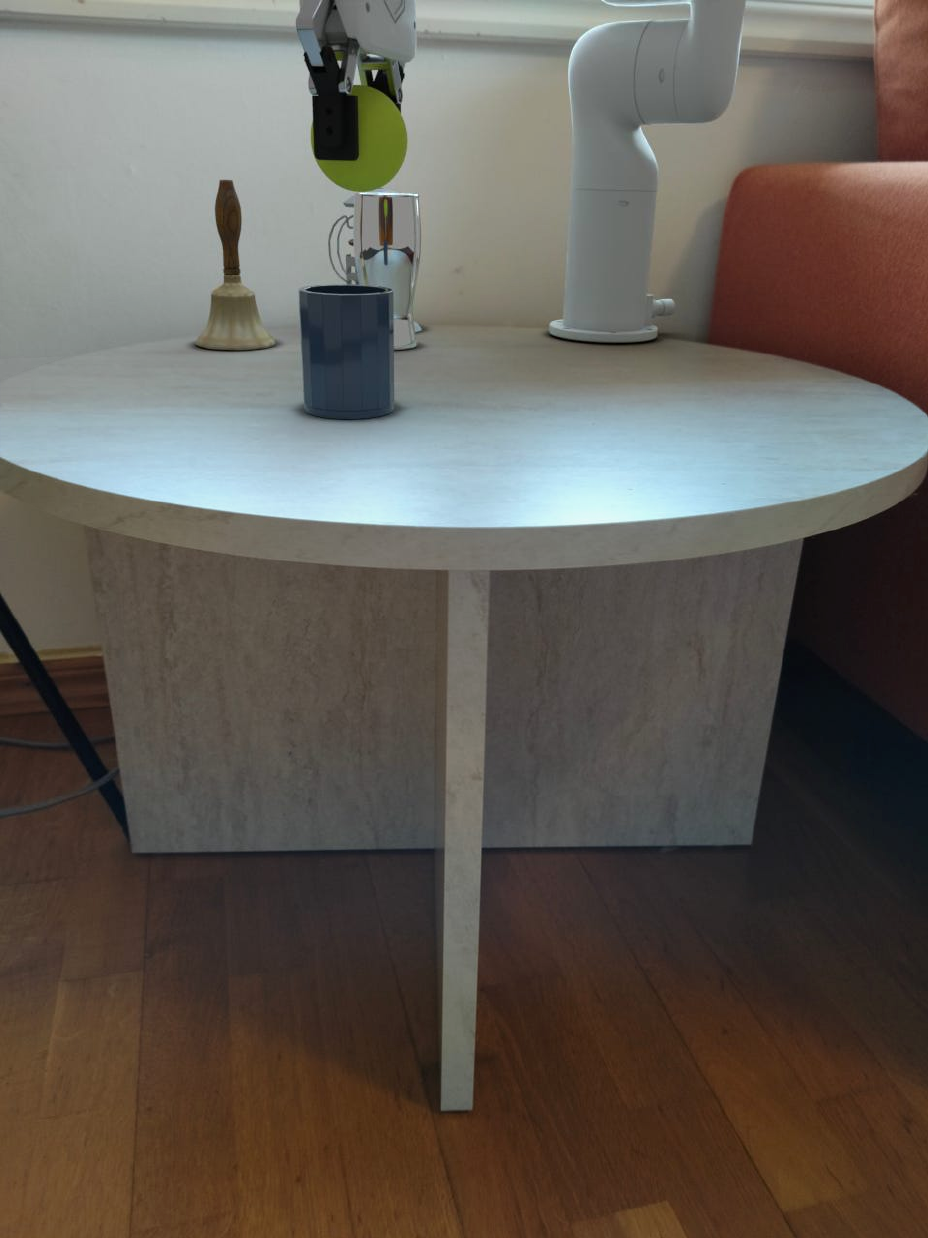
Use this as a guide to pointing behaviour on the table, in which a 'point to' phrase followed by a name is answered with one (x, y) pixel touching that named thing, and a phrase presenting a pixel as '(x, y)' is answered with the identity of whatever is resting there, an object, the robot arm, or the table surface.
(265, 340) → the hand bell
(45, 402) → the table surface
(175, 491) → the table surface
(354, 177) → the ball
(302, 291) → the cup
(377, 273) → the beer glass
